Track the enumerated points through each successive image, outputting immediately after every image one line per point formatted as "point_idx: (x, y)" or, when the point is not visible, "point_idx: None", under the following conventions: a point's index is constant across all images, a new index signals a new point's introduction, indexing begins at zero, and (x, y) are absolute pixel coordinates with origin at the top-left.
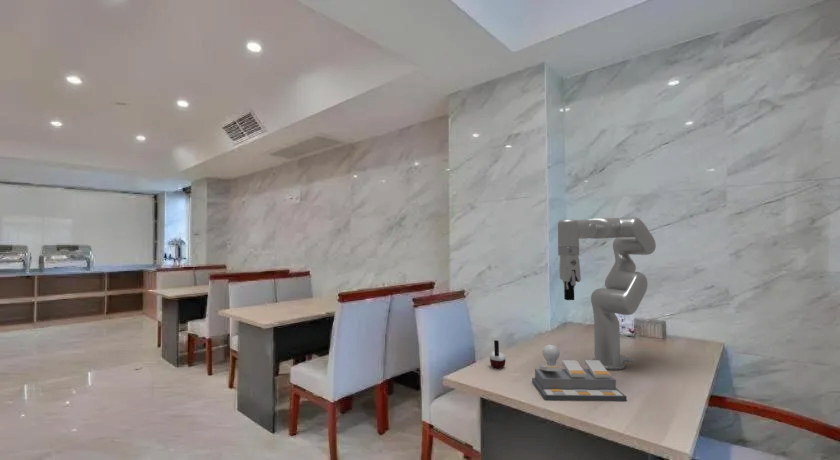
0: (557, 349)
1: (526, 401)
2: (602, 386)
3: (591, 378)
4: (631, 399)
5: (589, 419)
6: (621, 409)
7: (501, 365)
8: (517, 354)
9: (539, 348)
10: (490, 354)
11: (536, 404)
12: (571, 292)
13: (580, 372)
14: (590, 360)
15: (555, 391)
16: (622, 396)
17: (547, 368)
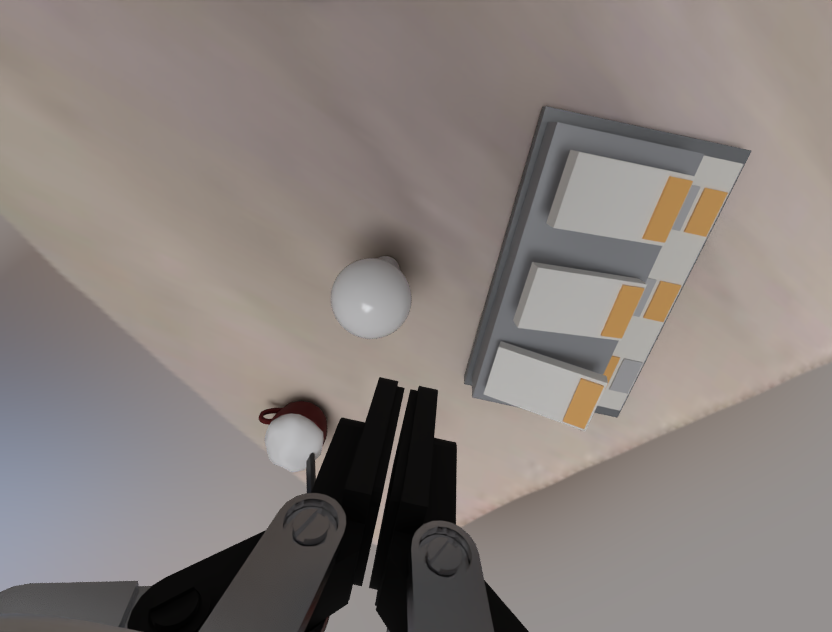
0: (393, 288)
1: (601, 453)
2: None
3: (645, 254)
4: (736, 114)
5: (782, 363)
6: (783, 222)
7: (325, 422)
8: (142, 286)
9: (22, 135)
10: (296, 471)
11: (629, 440)
12: (452, 516)
13: (632, 303)
14: (565, 200)
15: (609, 379)
16: (742, 167)
17: (586, 426)
